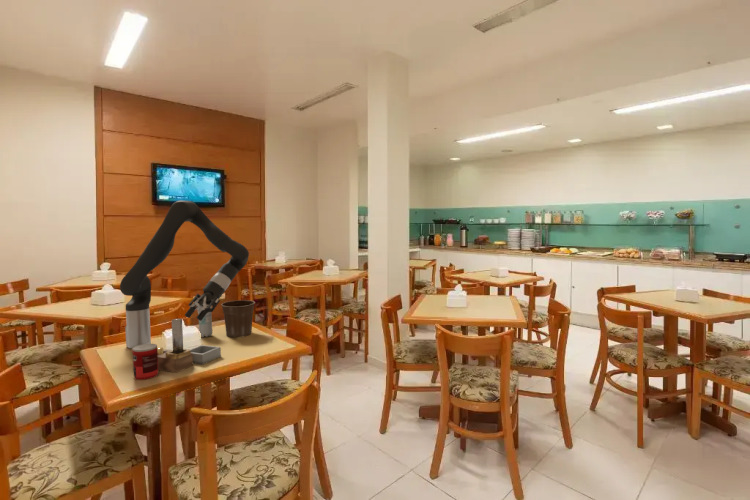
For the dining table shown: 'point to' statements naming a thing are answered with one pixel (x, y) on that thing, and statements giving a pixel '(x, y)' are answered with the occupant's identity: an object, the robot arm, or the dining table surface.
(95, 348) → the dining table surface
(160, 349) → the release plunger
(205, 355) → the tray
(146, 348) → the canned food
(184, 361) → the socket block
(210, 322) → the bottle
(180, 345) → the rod
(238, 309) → the plant pot
